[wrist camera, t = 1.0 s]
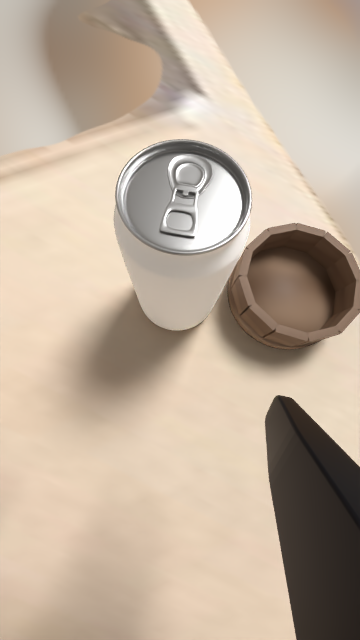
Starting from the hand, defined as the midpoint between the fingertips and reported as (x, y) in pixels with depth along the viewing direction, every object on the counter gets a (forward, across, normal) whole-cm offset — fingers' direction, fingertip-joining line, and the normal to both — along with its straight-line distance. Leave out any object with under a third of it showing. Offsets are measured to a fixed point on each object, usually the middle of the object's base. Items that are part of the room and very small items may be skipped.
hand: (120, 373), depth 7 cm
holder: (+16, -10, +2) cm, 19 cm away
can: (+15, 0, +4) cm, 15 cm away
